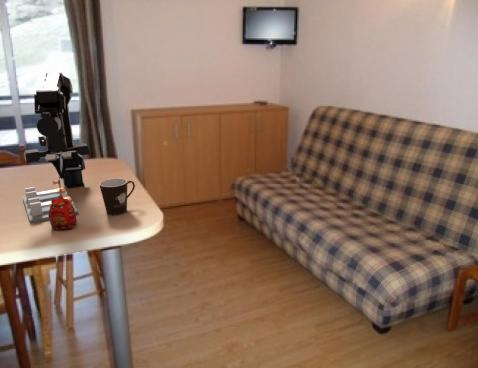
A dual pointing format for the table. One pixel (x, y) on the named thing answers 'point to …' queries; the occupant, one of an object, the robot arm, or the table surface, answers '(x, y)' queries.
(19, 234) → the table surface
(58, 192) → the strap far
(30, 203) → the grey stepped panel
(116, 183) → the coffee mug
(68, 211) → the red clay folk toy
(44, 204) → the strap near
